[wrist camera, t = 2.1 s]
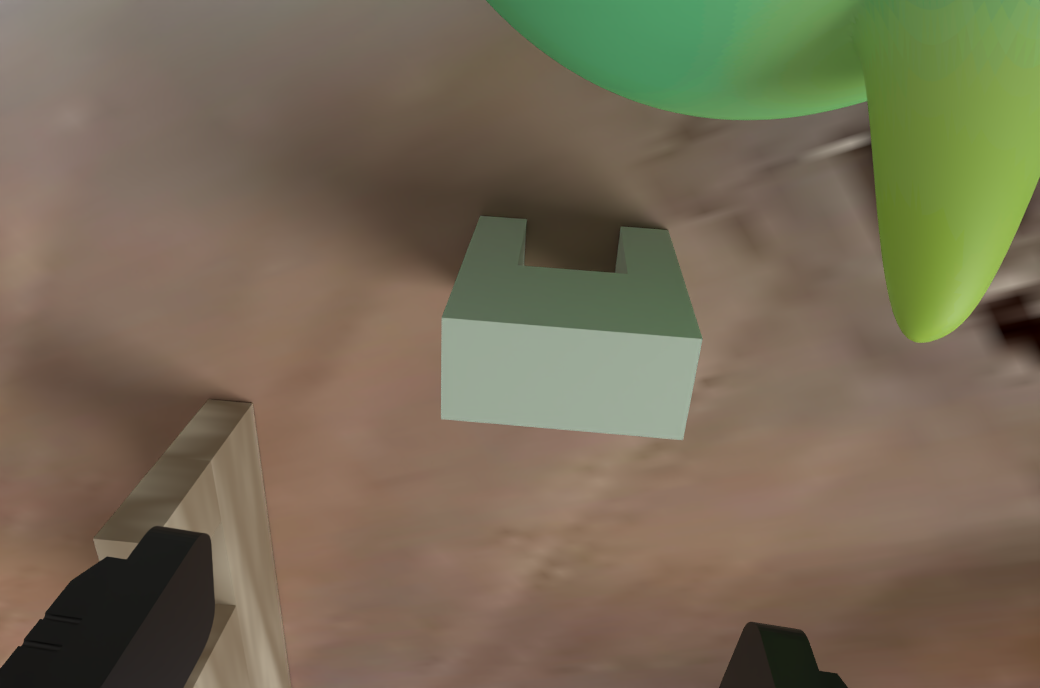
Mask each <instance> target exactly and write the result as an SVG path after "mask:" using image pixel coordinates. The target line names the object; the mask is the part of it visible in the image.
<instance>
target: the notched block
mask: <svg viewBox="0 0 1040 688" xmlns="http://www.w3.org/2000/svg"><path fill="white" fill-rule="evenodd" d="M526 225H527V219H517V218H504V217H491V216H480V218H479V220H478V223H477V225H476V228H475V231H474V233H473V236H472V239H471V241H470V244H469V247H468V249H467V252H466V255H465V257H464V260H463V263H462V265H461V268H460V271H459V273H458V276H457V279H456V281H455V284H454V286H453V289H452V292H451V294H450V297H449V300H448V302H447V305H446V308H445V310H444V313H443V316H442V353H441V419H447V420H459V421H470V422H482V423H493V424H505V425H516V426H528V427H539V428H551V429H562V430H574V431H585V432H597V433H608V434H620V435H631V436H643V437H654V438H666V439H677V440H683V437H684V432H685V427H686V421H687V416H688V411H689V406H690V401H691V396H692V390H693V385H694V380H695V375H696V370H697V365H698V360H699V354H700V349H701V344H702V336H701V333H700V330H699V326H698V323H697V320H696V317H695V314H694V311H693V307H692V304H691V301H690V298H689V295H688V292H687V288H686V285H685V282H684V279H683V276H682V273H681V269H680V266H679V263H678V260H677V257H676V254H675V250H674V247H673V244H672V241H671V238H670V235H669V231H668V230H660V229H647V228H634V227H621V229H620V237H619V245H618V253H617V261H616V269H615V273H609V272H597V271H584V270H571V269H559V268H546V267H533V266H524V257H525V241H526Z"/></svg>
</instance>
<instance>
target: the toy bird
mask: <svg viewBox="0 0 1040 688" xmlns="http://www.w3.org/2000/svg"><path fill="white" fill-rule="evenodd" d="M486 1H487V2H488V3H489V4H490V5H491V6H492V7H493V8H494V9H495V10H496V11H497V12H498V13H499V14H500V15H501V16H502V17H503V18H504V19H505V20H506V21H507V22H508V23H509V24H510V25H511V26H512V27H513V28H514V29H516V30H517V31H518V32H519V33H520V34H521V35H522V36H524V37H525V38H526V39H527V40H528V41H530V42H531V43H532V44H533V45H535V46H536V47H537V48H539V49H540V50H541V51H543V52H544V53H545V54H547V55H548V56H549V57H551V58H552V59H554V60H555V61H557V62H558V63H560V64H561V65H563V66H564V67H566V68H567V69H569V70H571V71H572V72H574V73H576V74H577V75H579V76H581V77H583V78H584V79H586V80H588V81H590V82H592V83H594V84H596V85H598V86H600V87H602V88H604V89H606V90H608V91H611V92H613V93H615V94H618V95H620V96H623V97H625V98H628V99H630V100H633V101H636V102H639V103H642V104H645V105H648V106H651V107H655V108H658V109H662V110H666V111H670V112H675V113H680V114H685V115H691V116H697V117H704V118H713V119H727V120H766V119H780V118H789V117H797V116H804V115H810V114H816V113H821V112H826V111H831V110H835V109H839V108H843V107H847V106H851V105H855V104H859V103H862V102H865V101H867V102H868V111H869V121H870V132H871V143H872V155H873V167H874V179H875V192H876V203H877V214H878V224H879V234H880V243H881V252H882V260H883V267H884V273H885V279H886V285H887V290H888V294H889V299H890V303H891V307H892V310H893V313H894V316H895V319H896V321H897V324H898V326H899V327H900V329H901V331H902V332H903V334H904V335H905V336H906V337H907V338H908V339H910V340H912V341H914V342H919V343H924V342H930V341H934V340H937V339H939V338H942V337H944V336H946V335H947V334H949V333H951V332H952V331H954V330H955V329H956V328H958V327H959V326H960V325H961V324H962V323H963V322H964V321H965V320H966V319H967V318H968V317H969V315H970V314H971V313H972V312H973V310H974V309H975V307H976V306H977V305H978V303H979V302H980V300H981V299H982V297H983V296H984V294H985V292H986V291H987V289H988V287H989V286H990V284H991V282H992V280H993V278H994V277H995V275H996V273H997V271H998V269H999V267H1000V265H1001V263H1002V261H1003V259H1004V257H1005V255H1006V253H1007V251H1008V249H1009V247H1010V245H1011V242H1012V240H1013V238H1014V236H1015V234H1016V231H1017V229H1018V227H1019V225H1020V222H1021V220H1022V218H1023V215H1024V213H1025V211H1026V208H1027V206H1028V204H1029V202H1030V199H1031V197H1032V194H1033V192H1034V189H1035V187H1036V185H1037V182H1038V180H1039V177H1040V0H486Z"/></svg>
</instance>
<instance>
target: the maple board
mask: <svg viewBox="0 0 1040 688" xmlns="http://www.w3.org/2000/svg"><path fill="white" fill-rule="evenodd" d="M154 526H163V527H169V528H175V529H181V530H188V531H194V532H200V533H207V534H208V535H209V536H210V539H211V544H212V561H213V578H214V595H215V614H214V620H213V625H212V628H211V632H210V635H209V638H208V641H207V643H206V646H205V648H204V650H203V652H202V654H201V656H200V658H199V660H198V661H197V663H196V665H195V667H194V669H193V671H192V673H191V675H190V676H189V678H188V680H187V682H186V684H185V686H184V688H291V682H290V675H289V668H288V660H287V653H286V646H285V638H284V631H283V624H282V616H281V609H280V601H279V594H278V587H277V579H276V572H275V565H274V557H273V550H272V542H271V535H270V528H269V520H268V513H267V506H266V498H265V491H264V484H263V476H262V469H261V461H260V454H259V447H258V439H257V432H256V425H255V417H254V410H253V403H245V402H233V401H222V400H210V399H208V401H207V402H206V403H205V404H204V405H203V407H202V408H201V409H200V410H199V411H198V413H197V414H196V415H195V416H194V417H193V419H192V420H191V421H190V422H189V423H188V425H187V426H186V427H185V428H184V429H183V431H182V432H181V433H180V434H179V436H178V437H177V438H176V439H175V440H174V442H173V443H172V444H171V445H170V446H169V448H168V449H167V450H166V451H165V452H164V454H163V455H162V456H161V457H160V458H159V460H158V461H157V462H156V463H155V465H154V466H153V467H152V468H151V469H150V471H149V472H148V473H147V474H146V475H145V477H144V478H143V479H142V480H141V481H140V483H139V484H138V485H137V486H136V487H135V489H134V490H133V491H132V492H131V493H130V495H129V496H128V497H127V498H126V500H125V501H124V502H123V503H122V504H121V506H120V507H119V508H118V509H117V510H116V512H115V513H114V514H113V515H112V516H111V518H110V519H109V520H108V521H107V522H106V524H105V525H104V526H103V527H102V528H101V530H100V531H99V532H98V533H97V535H96V536H95V537H94V538H93V541H94V544H95V548H96V551H97V555H98V558H99V562H100V561H101V560H102V559H104V558H105V557H107V556H108V557H114V558H121V559H127V558H128V557H129V555H130V554H131V553H132V551H133V550H134V549H135V547H136V546H137V545H138V543H139V542H140V540H141V539H142V538H143V536H144V535H145V534H146V533H147V532H148V531H149V530H150V529H151V528H152V527H154Z"/></svg>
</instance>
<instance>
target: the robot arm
mask: <svg viewBox="0 0 1040 688" xmlns="http://www.w3.org/2000/svg"><path fill="white" fill-rule="evenodd" d="M214 614H215V595H214V578H213V561H212V544H211V539H210V536H209V535H208V534H207V533H200V532H194V531H188V530H181V529H175V528H169V527H163V526H154V527H152V528H151V529H150V530H149V531H148V532H147V533H146V534H145V535H144V536H143V538H142V539H141V540H140V542H139V543H138V545H137V546H136V547H135V549H134V550H133V551H132V553H131V554H130V555H129V557H128V558H127V559H121V558H114V557H108V556H107V557H105V558H104V559H102V560H101V561H100V562H98V563H97V564H95V565H94V566H92V567H91V568H89V569H88V570H86V571H85V572H83V573H82V574H80V575H79V576H78V577H76V578H75V579H73V580H72V581H70V583H69V584H68V585H67V586H66V588H65V589H64V590H63V591H62V593H61V594H60V595H59V596H58V598H57V599H56V600H55V601H54V603H53V604H52V605H51V606H50V608H49V609H48V610H47V611H46V613H45V617H44V619H43V620H42V619H40V620H39V621H38V622H37V624H36V625H35V626H34V627H33V629H32V630H31V631H30V632H29V634H28V635H27V636H26V637H25V639H24V643H23V645H22V646H18V647H17V649H16V650H15V651H14V652H13V654H12V655H11V656H10V657H9V658H8V660H7V661H6V662H5V663H4V665H3V666H2V667H1V668H0V688H184V686H185V684H186V682H187V680H188V678H189V676H190V675H191V673H192V671H193V669H194V667H195V665H196V663H197V661H198V660H199V658H200V656H201V654H202V652H203V650H204V648H205V646H206V643H207V641H208V638H209V635H210V632H211V628H212V625H213V620H214ZM719 688H848V687H847V686H846V685H845V683H844V682H843V681H842V679H841V678H840V677H839V675H838V674H836V673H830V672H823V671H819V669H818V666H817V663H816V660H815V658H814V655H813V652H812V649H811V646H810V643H809V641H808V638H807V636H806V635H805V633H804V632H803V631H802V630H800V629H794V628H787V627H781V626H775V625H768V624H762V623H756V622H749V623H747V624H746V626H745V627H744V629H743V631H742V634H741V636H740V638H739V641H738V643H737V646H736V648H735V650H734V653H733V655H732V658H731V660H730V662H729V665H728V667H727V670H726V672H725V674H724V677H723V679H722V682H721V684H720V687H719Z"/></svg>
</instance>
